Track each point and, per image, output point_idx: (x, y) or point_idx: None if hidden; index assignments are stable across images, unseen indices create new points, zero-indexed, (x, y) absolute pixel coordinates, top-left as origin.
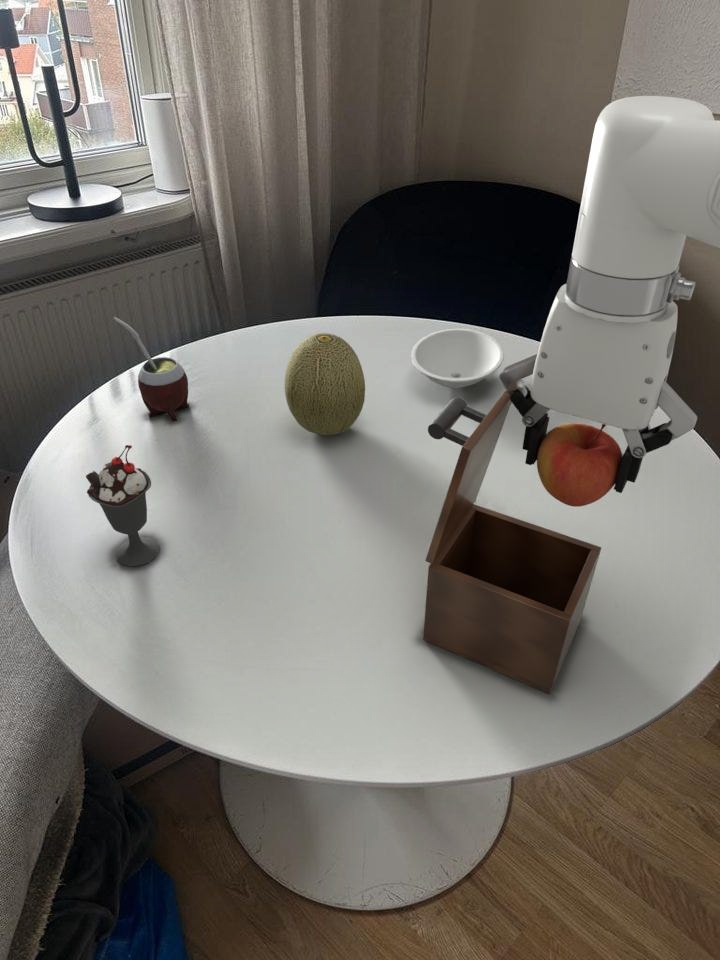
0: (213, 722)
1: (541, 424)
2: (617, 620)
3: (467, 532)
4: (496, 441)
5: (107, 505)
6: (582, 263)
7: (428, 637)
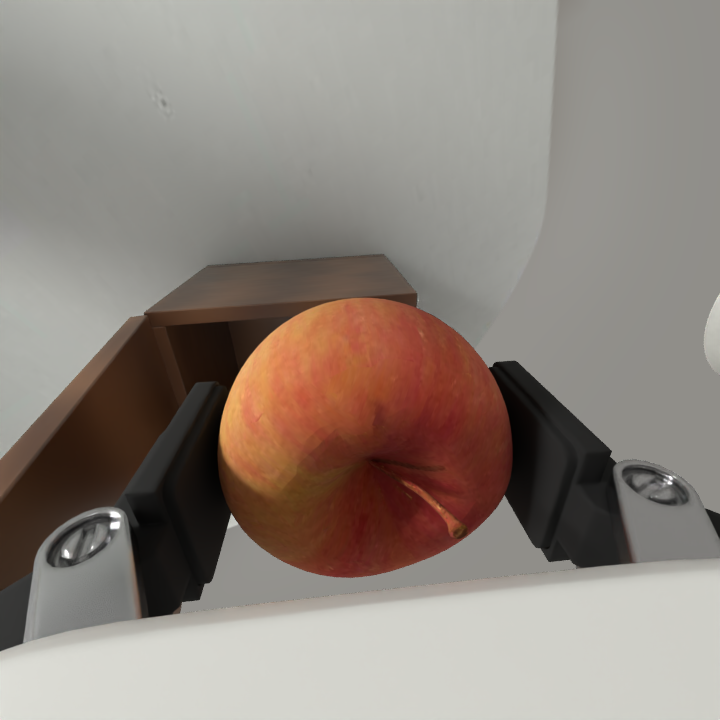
0: None
1: (186, 555)
2: (427, 225)
3: (186, 345)
4: (74, 435)
5: None
6: None
7: None
